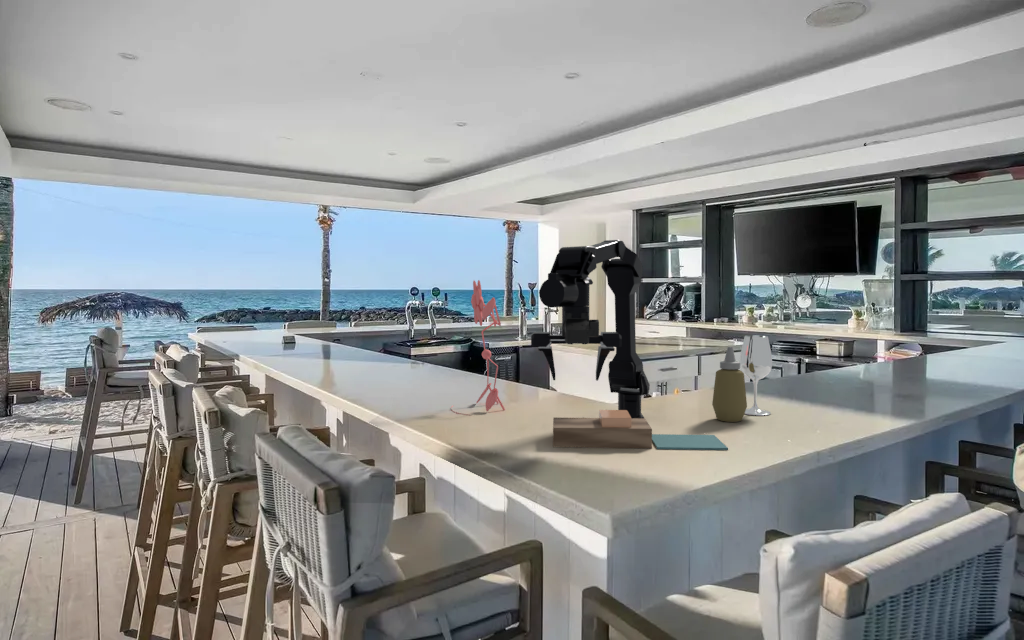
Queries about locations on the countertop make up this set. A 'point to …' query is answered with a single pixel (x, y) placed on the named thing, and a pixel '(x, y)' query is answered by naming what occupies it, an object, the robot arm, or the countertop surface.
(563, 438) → the platform
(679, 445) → the mat
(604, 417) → the tile
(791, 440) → the countertop surface
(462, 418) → the countertop surface
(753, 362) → the wineglass
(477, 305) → the figurine
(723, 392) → the squeeze bottle
